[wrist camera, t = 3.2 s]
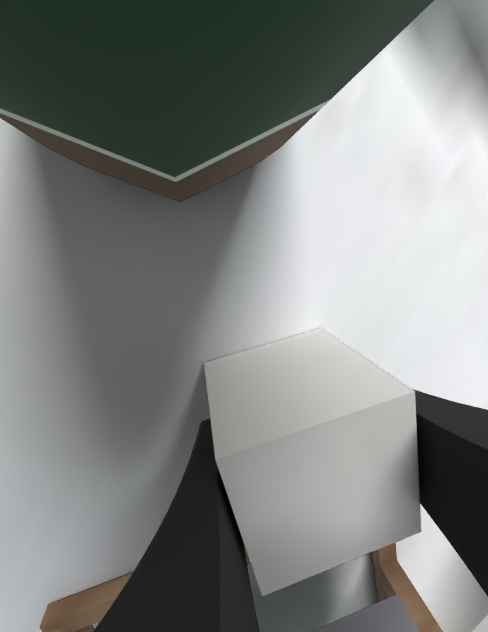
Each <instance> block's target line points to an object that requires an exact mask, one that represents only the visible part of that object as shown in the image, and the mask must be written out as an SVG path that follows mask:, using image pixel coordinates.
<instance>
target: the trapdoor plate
mask: <svg viewBox="0 0 488 632" xmlns="http://www.w3.org/2000/svg"><path fill="white" fill-rule="evenodd" d="M311 632H419V630H418V629H417V627H416V625H415V624H414V622H413V620H412V618H411V617H410V615H409V613H408V612H407V610H406V608H405V606H404V605H403V603H402V601H401V600H400V598H399V596H398V594H396V595H394V596H392V597H389V598H387V599H385V600H383V601H380V602H378V603H376V604H373V605H371V606H369V607H366V608H364V609H362V610H359V611H357V612H355V613H353V614H350V615H348V616H346V617H343V618H341V619H339V620H336V621H334V622H332V623H329V624H327V625H325V626H322V627H320V628H318V629H316V630H313V631H311Z"/></svg>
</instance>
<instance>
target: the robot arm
mask: <svg viewBox="0 0 488 632" xmlns="http://www.w3.org/2000/svg"><path fill="white" fill-rule="evenodd" d="M414 391H415V402H416V425H417V448H418V471H419V494H420V504H421V505H422V506H423V507H424V509H425V510H426V511H427V513H428V514H429V515H430V517H431V518H432V519H433V521H434V522H435V523H436V525H437V526H438V527H439V529H440V530H441V531H442V533H443V534H444V535H445V537H446V538H447V540H448V541H449V542H450V544H451V545H452V546H453V548H454V549H455V551H456V552H457V553H458V555H459V556H460V558H461V559H462V560H463V562H464V563H465V564H466V566H467V567H468V569H469V570H470V571H471V573H472V574H473V576H474V577H475V579H476V580H477V582H478V583H479V584H480V586H481V587H482V589H483V590H484V592H485V593H486V595H487V596H488V410H486V409H482V408H478V407H473V406H469V405H465V404H461V403H457V402H453V401H449V400H446V399H443V398H439V397H436V396H432V395H429V394H426V393H423V392H420V391H416V390H414ZM93 632H260V631H259V626H258V621H257V616H256V611H255V606H254V601H253V596H252V591H251V585H250V580H249V575H248V569H247V562H246V556H245V547H244V542H243V539H242V536H241V533H240V530H239V527H238V524H237V521H236V518H235V515H234V513H233V510H232V507H231V504H230V501H229V498H228V495H227V492H226V489H225V486H224V483H223V480H222V477H221V474H220V472H219V469H218V466H217V463H216V460H215V452H214V444H213V435H212V427H211V419H207V420H204V421H202V422H201V423H200V426H199V430H198V434H197V438H196V441H195V444H194V448H193V451H192V454H191V456H190V459H189V462H188V465H187V468H186V470H185V473H184V476H183V478H182V480H181V483H180V485H179V487H178V490H177V492H176V495H175V497H174V499H173V501H172V503H171V505H170V508H169V510H168V512H167V514H166V516H165V518H164V520H163V521H162V523H161V525H160V527H159V529H158V531H157V533H156V535H155V536H154V538H153V540H152V542H151V543H150V545H149V547H148V549H147V551H146V552H145V554H144V556H143V557H142V559H141V561H140V562H139V564H138V566H137V567H136V569H135V570H134V572H133V574H132V575H131V577H130V578H129V580H128V581H127V583H126V584H125V586H124V587H123V589H122V590H121V592H120V593H119V595H118V596H117V598H116V599H115V601H114V602H113V604H112V605H111V607H110V608H109V610H108V611H107V613H106V614H105V616H104V617H103V619H102V620H101V621H100V623H99V624H98V626H97V627H96V628H95V630H94V631H93Z"/></svg>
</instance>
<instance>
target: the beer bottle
mask: <svg viewBox="0 0 488 632" xmlns="http://www.w3.org/2000/svg"><path fill="white" fill-rule="evenodd" d="M433 1H434V0H0V118H1V119H3V120H5V121H6V122H8V123H9V124H11V125H13V126H14V127H16V128H17V129H19V130H20V131H22V132H24V133H25V134H27V135H28V136H30V137H32V138H33V139H35V140H36V141H38V142H40V143H41V144H43V145H44V146H46V147H48V148H49V149H51V150H52V151H54V152H57V153H59V154H61V155H63V156H65V157H67V158H69V159H71V160H73V161H75V162H77V163H79V164H81V165H83V166H86V167H89V168H91V169H94V170H97V171H99V172H102V173H105V174H107V175H110V176H113V177H115V178H118V179H121V180H123V181H126V182H129V183H131V184H134V185H137V186H139V187H142V188H145V189H148V190H150V191H153V192H156V193H158V194H161V195H164V196H166V197H169V198H172V199H174V200H177V201H180V202H182V201H184V200H186V199H188V198H190V197H192V196H194V195H196V194H198V193H200V192H201V191H203V190H205V189H207V188H209V187H211V186H213V185H215V184H217V183H219V182H221V181H223V180H225V179H227V178H229V177H231V176H233V175H235V174H237V173H239V172H241V171H243V170H245V169H247V168H249V167H251V166H253V165H255V164H257V163H259V162H261V161H262V160H264V159H265V158H266V157H268V156H269V155H271V154H272V153H273V152H275V151H276V150H278V149H279V148H280V147H281V146H283V145H284V144H285V143H286V142H287V141H288V140H289V139H290V138H291V137H292V136H293V135H294V134H295V133H296V132H297V131H298V130H299V129H300V128H301V127H302V126H303V125H304V124H305V123H306V122H308V121H309V120H310V119H311V118H312V117H313V116H314V115H315V114H316V113H317V112H318V111H319V110H320V109H321V108H322V107H323V106H324V105H325V104H326V103H327V102H328V101H329V100H330V99H332V98H333V97H334V96H335V95H336V94H337V93H338V92H339V91H340V90H341V89H342V88H343V87H344V86H345V85H346V84H347V83H348V82H349V81H350V80H351V79H352V78H353V77H354V76H356V75H357V74H358V73H359V72H360V71H361V70H362V69H363V68H364V67H365V66H366V65H367V64H368V63H369V62H370V61H371V60H372V59H373V58H374V57H375V56H376V55H377V54H378V53H379V52H381V51H382V50H383V49H384V48H385V47H386V46H387V45H388V44H389V43H390V42H391V41H392V40H393V39H394V38H395V37H396V36H397V35H398V34H399V33H400V32H401V31H402V30H403V29H405V28H406V27H407V26H408V25H409V24H410V23H411V22H412V21H413V20H414V19H415V18H416V17H417V16H418V15H419V14H420V13H421V12H422V11H423V10H424V9H425V8H426V7H427V6H429V5H430V4H431V3H432V2H433Z"/></svg>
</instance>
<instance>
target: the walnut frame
mask: <svg viewBox="0 0 488 632" xmlns="http://www.w3.org/2000/svg"><path fill="white" fill-rule="evenodd" d="M244 547H245V545H244ZM245 556H246V562H247V563H249V562H250V559H249V557H248V554H247V551H246V548H245ZM372 558H373V566H374V574H375V581H376V589H377V597H378V602H380V601H383V600H385V599H387V598H389V597H392V596H394V595H396V594H398V596H399V598H400V600H401V601H402V603H403V605H404V606H405V608H406V610H407V612H408V613H409V615H410V617H411V618H412V620H413V622H414V624H415V625H416V627H417V629H418V630H419V632H443V631H442V630H441V628H440V626H439V625H438V623H437V622H436V620H435V619H434V617H433V616H432V614H431V612H430V611H429V609H428V608H427V606H426V605H425V603H424V602H423V600H422V598H421V597H420V595H419V594H418V592H417V591H416V589H415V588H414V586H413V584H412V583H411V581H410V580H409V578H408V577H407V575H406V574H405V572H404V570H403V569H402V567H401V566H400V564H399V563H398V561H397V556H396V544H395V543H392V544H390V545H387V546H385V547H383V548H380V549H378V550H375V551H373V552H372ZM132 574H133V573H130V574H127V575H125V576H122V577H119V578H117V579H114V580H112V581H109V582H106V583H104V584H101V585H98V586H96V587H93V588H90V589H88V590H85V591H82V592H80V593H77V594H74V595H72V596H69V597H67V598H64V599H61V600H59V601H56V602H53V603H51V604H48V607H47V609H46V612H45V615H44V617H43V620H42V622H41V625H40V629H41V630H42V632H93V631H94V629H93V627H92V626H91V624H94V623H97V622H99V621H101V620H102V619H103V617H104V616H105V614H106V613H107V611H108V610H109V608H110V607H111V605H112V604H113V602H114V601H115V599H116V598H117V596H118V595H119V593H120V592H121V590H122V589H123V587H124V586H125V584H126V583H127V581H128V580H129V578H130V577H131V575H132Z"/></svg>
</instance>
